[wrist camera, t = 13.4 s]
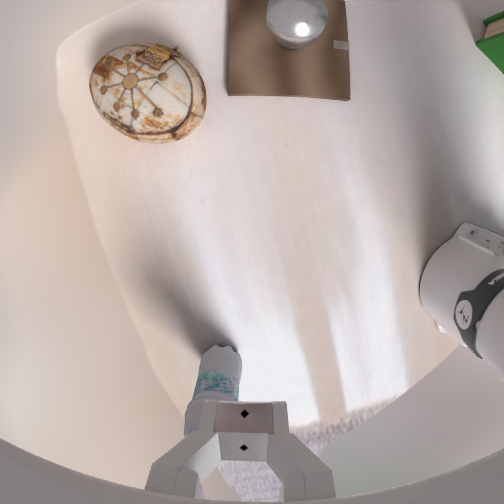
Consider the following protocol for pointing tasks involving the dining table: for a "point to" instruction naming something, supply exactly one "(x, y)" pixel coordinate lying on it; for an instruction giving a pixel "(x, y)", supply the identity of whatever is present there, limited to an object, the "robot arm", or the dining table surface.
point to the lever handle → (296, 21)
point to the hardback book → (494, 40)
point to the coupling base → (287, 56)
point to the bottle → (214, 382)
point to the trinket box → (148, 92)
